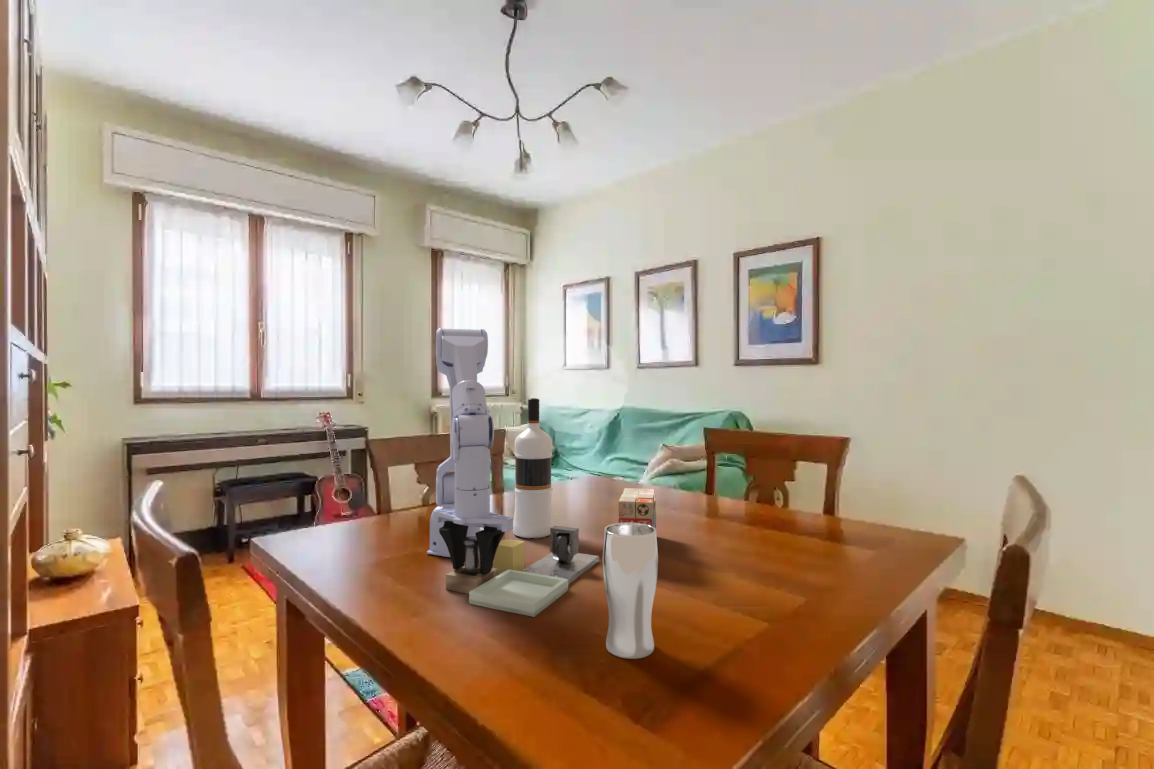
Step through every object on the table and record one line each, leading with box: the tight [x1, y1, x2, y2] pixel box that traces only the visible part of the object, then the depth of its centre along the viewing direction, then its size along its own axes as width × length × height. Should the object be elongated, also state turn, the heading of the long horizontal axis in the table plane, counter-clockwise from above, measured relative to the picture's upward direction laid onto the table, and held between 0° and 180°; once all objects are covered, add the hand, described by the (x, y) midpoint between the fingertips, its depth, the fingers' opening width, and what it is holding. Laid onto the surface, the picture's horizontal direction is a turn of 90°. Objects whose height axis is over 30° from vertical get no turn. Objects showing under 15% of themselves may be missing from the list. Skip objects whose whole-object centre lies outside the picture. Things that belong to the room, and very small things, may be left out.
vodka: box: [512, 397, 555, 539], centre depth 123 cm, size 9×9×30 cm
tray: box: [468, 569, 569, 618], centre depth 86 cm, size 11×11×2 cm
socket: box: [445, 564, 499, 595], centre depth 91 cm, size 6×6×2 cm
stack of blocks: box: [617, 487, 657, 530], centre depth 111 cm, size 21×6×12 cm, turn 170°
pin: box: [463, 536, 480, 576], centre depth 91 cm, size 3×3×8 cm
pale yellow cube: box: [492, 538, 526, 575], centre depth 98 cm, size 4×4×5 cm
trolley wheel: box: [522, 525, 600, 585], centre depth 99 cm, size 9×15×7 cm, turn 155°
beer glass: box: [602, 522, 659, 660], centre depth 70 cm, size 7×7×15 cm
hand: (472, 570), depth 91 cm, fingers open, 5 cm apart
